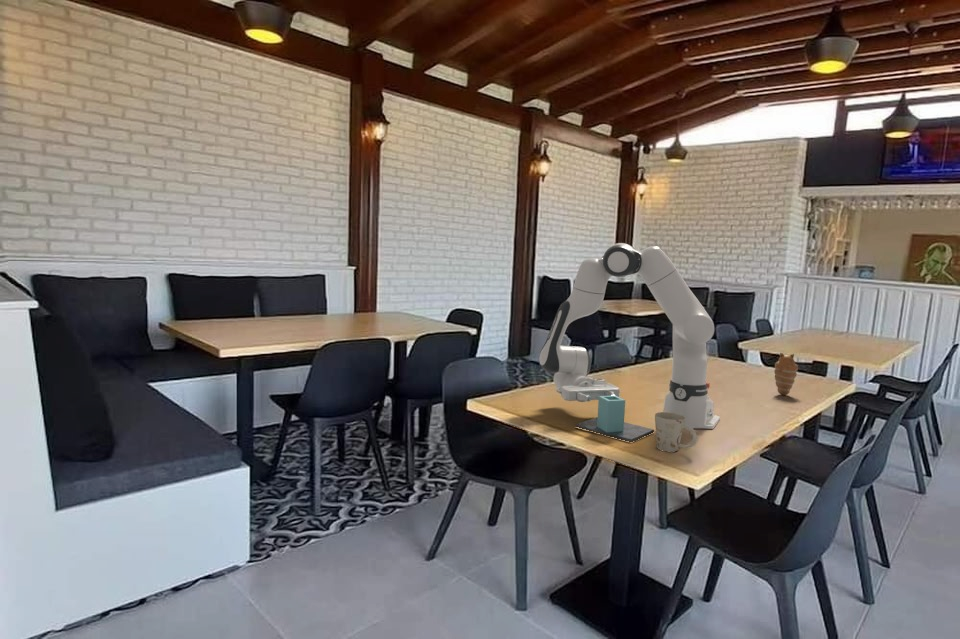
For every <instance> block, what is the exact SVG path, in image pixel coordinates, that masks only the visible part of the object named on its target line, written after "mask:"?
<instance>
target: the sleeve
mask: <svg viewBox="0 0 960 639" xmlns="http://www.w3.org/2000/svg"><path fill="white" fill-rule="evenodd" d="M625 411H626V399H623V397H620V396H619V397H618V396H599V400H598V407H597V417H598V419H597V427H598V428H600V429H602V430H603V431H605V432H619V431H624V422H625V415H626V414H625Z"/></svg>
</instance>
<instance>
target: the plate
mask: <svg viewBox="0 0 960 639" xmlns="http://www.w3.org/2000/svg"><path fill="white" fill-rule="evenodd" d="M597 419H598V416H597V417H593V418H591V419H588V420H584V421H582V422H579V423H576V424H575V425H574V427H579V428H582V429H586V430H589V431H593V432H596V433H600V434H603V435H606V436H610V437H614V438H617V439H621V440H625V441H629V442H633V441H635V442H637V441H636V440H638V439H640V438H642V437H644V436H646V437H648V436H647V435H649V434H651V433H653V432H654V433H655V429H654V428H649V427H645V426H641V425H637V424H633V423H629V422H626V421H624V431H619V432H605V431H603V430H602V429H600V428H598V427H597ZM654 433H653V434H654ZM651 435H652V434H651ZM606 436H605V437H606ZM649 436H650V435H649ZM610 437H609V438H610ZM644 438H645V437H644ZM617 439H616V440H617ZM642 439H643V438H642ZM621 440H620V441H621ZM640 440H641V439H640ZM625 441H624V442H625ZM638 441H639V440H638ZM633 443H634V442H633Z"/></svg>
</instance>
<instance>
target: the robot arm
mask: <svg viewBox="0 0 960 639" xmlns="http://www.w3.org/2000/svg"><path fill="white" fill-rule="evenodd" d="M634 274H638V275H639V276H640V277H641V279H642V280H643V281H644V284H645V285H646V286H647V288H648V289H649V291H650V293H651V295H652V296H653V298H654V299H655V302H656V303H657V304H658V306H659V307H660V308H661V309H662V311H663V312H664V314H665V315H666V316H667V318H668V320H669V321H670V323H671V324H672V365H671V366H672V368H671V369H672V371H671V380H669V386H668V387H669V388H668V389H669V392H668V393H666V395H665V397H664V402H663V403H664V404H663V409H662V412H670V413H676V414H680V415H682V416H684V417H685V421H684V425H687V426H690V427H692V428H693V429H709V430H711V429H712V430H713V429H714V428H715V427H717V426H716V425H718V423H719V422H720V421H721V416H718V415H717V414H714V408H715V405H714V401H713V400H712V399H711V398H710V396H709V395H708V394H709V393H708V391H709V389H710V386H711V384H710V382H707V374H708V373H707V372H708V354H707V342H708V341H710V340H711V339H712V338H713V336H714V334H715V324H714V321H713V320H712V317H711V316H710V315H709V313H708V312H707V311H706V309H705V308H704V306H703V305H702V303H701V302H700V301H699V299H698V298H697V297H696V295H695V294H694V293H693V291H692V290H691V289H690V287H689V286H688V284H687V282H686V281H685V280H684V278H683V276H682V274H681V273H680V272H679V270H678V269H677V267H676V266H675V264H674V263H673V261H672V260H671V258H669V256H668V254H666V253H665V251H663V250H662V249H661V248H660V247H659V246H656V245H655V246H654V245H653V246H652V245H651V246H648V247H645V248H644V249H641V250H636V249H635V248H634V247H633V246H632V245H631V244H629V243H626V242H618V243H617V242H616V243H614V244H612V245H610V246H609V247H608V248H607V249H606V250H605V252H604V255H602V257H600V258H597V257H596V258H594V257H590V258H586V259H584V260H583V261H582V262H581V263H580V266H579V268H578V270H577V273H576V277H575V280H574V284H573V287H572V291H571V293H570V295H569V297H568V298H567V299H566V300H565V301H563V302H561V304H560V305H559V307H558V309H557V312H556V314H555V317H554V319H553V321H552V325H551V327H550V330H549V333H548V335H547V337H546V340H545V342H544V345H543V346H542V348H541V349H540V351H539V356H538V364H539V365H540V367H541V368H542V370H544V371H545V373H548V374H552V373H553V374H554V375H553V383H554V386H555V387H556V390H555V391H556V393H558V394H560V397H561V398H562V399H563V400H565V401H567V402H575V401H577V402H579V403H584V402H585V403H586V402H591V401H595V400H596V401H599V396H618V397H620V394H621V392H620V387H618V386H616V385H614V384H612V383H611V382H607V381H606V379H604V378H597V377H589V373H590V371H591V367H592V358H591V357H592V356H591V354H590V353H589V351H588V350H587V349H586V348H585V347H584V346H578V345H577V346H573V345H561V344H562V341H563V339H564V336H565V333H566V330H567V328H568V327H569V325H570V324H571V323H573V322H574V321H576V320H578V319H581V318H584V317H588V316H590V315H593V314H594V313H597V312H598V311H599V309H601V307H602V304H603V302H604V298H605V294H606V290H607V285H608V282H609V280H610V278H612V277H616V278H623V277H626V276H630V275H634Z"/></svg>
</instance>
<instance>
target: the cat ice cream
mask: <svg viewBox="0 0 960 639" xmlns="http://www.w3.org/2000/svg"><path fill="white" fill-rule="evenodd" d="M794 357H795V354H794V353H792V354H783V353H782V352H780V353H779V358H778V361H776V362H775V364H774V380H775V386H776V387H777V392H778V394H779V395H782V396H787V395H789V394H790V393H791V390H792V388H793V385H794V384H795V378H796V377H797V371H798V370H799V365H798V364H797V363H796V362H795V359H794Z"/></svg>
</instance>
